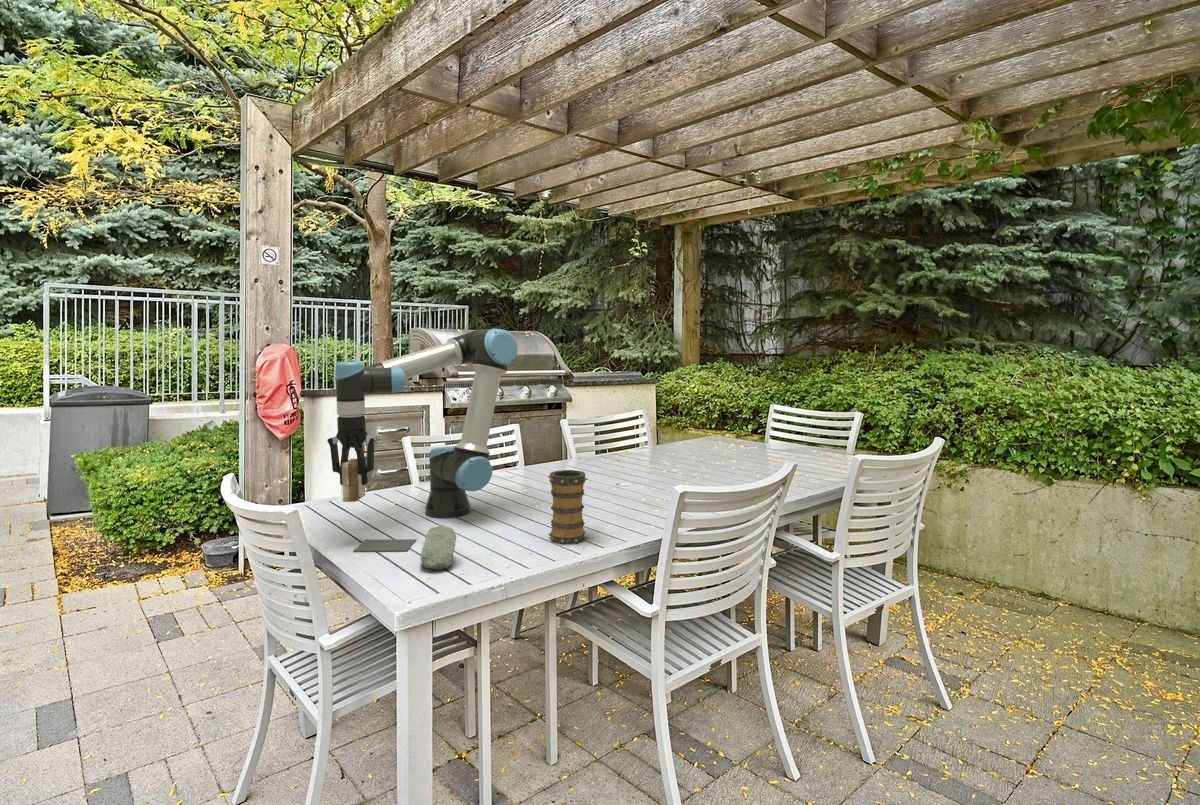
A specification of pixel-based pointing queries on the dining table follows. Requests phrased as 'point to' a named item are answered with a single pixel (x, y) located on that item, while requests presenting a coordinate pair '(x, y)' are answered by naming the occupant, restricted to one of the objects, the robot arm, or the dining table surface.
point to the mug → (567, 506)
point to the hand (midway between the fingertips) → (354, 495)
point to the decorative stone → (438, 547)
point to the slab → (350, 480)
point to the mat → (385, 545)
